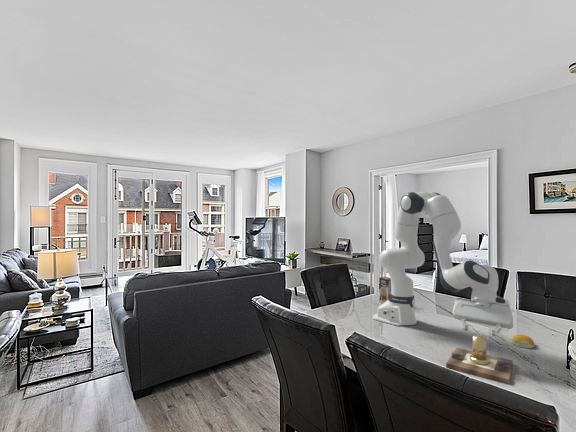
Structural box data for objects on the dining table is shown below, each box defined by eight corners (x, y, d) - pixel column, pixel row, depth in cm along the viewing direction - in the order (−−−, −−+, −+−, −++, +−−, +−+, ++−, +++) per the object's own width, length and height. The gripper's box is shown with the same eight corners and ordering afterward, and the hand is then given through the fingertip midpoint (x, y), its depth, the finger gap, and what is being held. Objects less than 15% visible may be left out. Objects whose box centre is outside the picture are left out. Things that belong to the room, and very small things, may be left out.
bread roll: (533, 343, 138) (533, 334, 138) (535, 350, 131) (535, 341, 131) (510, 339, 143) (510, 330, 143) (510, 345, 135) (510, 336, 135)
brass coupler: (468, 361, 116) (467, 337, 117) (471, 355, 122) (470, 332, 122) (488, 366, 113) (488, 341, 113) (490, 360, 118) (490, 336, 118)
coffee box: (378, 301, 207) (378, 277, 207) (387, 301, 209) (386, 276, 209) (387, 305, 198) (387, 279, 198) (396, 304, 201) (396, 279, 201)
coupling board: (446, 367, 116) (446, 358, 116) (456, 351, 130) (456, 343, 130) (508, 384, 104) (508, 374, 104) (512, 364, 118) (512, 355, 118)
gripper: (453, 293, 132) (448, 322, 124) (513, 301, 119) (511, 335, 111) (456, 301, 135) (450, 330, 127) (514, 310, 122) (512, 343, 115)
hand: (479, 332), depth 119 cm, fingers open, 8 cm apart
